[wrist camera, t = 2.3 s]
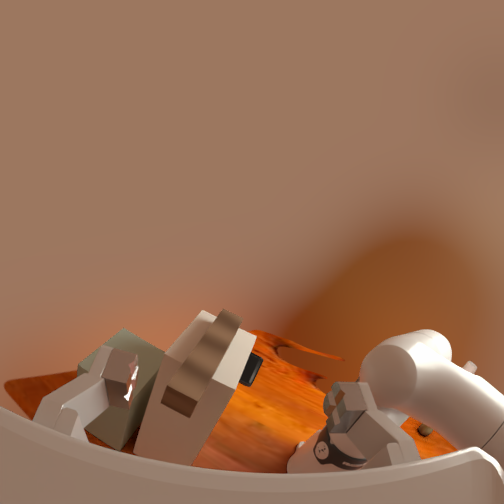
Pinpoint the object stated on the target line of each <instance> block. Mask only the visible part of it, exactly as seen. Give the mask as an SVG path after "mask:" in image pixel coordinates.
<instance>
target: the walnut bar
mask: <svg viewBox="0 0 504 504" xmlns="http://www.w3.org/2000/svg"><path fill="white" fill-rule="evenodd" d="M242 320H243V318H241V317H239V316H237V315H235V314H233V313H231V312H229V311H227V310H225V309H223V310H222V311H221V312H220V314H219V315H218V316H217V318H216V319H215V320H214V322H213V323H212V325H211V326H210V327H209V329H208V330H207V331H206V333H205V334H204V335H203V337H202V338H201V340H200V341H199V342H198V344H197V345H196V346H195V348H194V349H193V350H192V352H191V353H190V355H189V356H188V357H187V359H186V360H185V361H184V363H183V364H182V365H181V367H180V368H179V369H178V371H177V372H176V373H175V375H174V376H173V378H172V379H171V380H170V382H169V383H168V384H167V386H166V389H165V392H164V394H163V397H162V400H161V404H163V405H165V406H167V407H169V408H171V409H172V410H174V411H176V412H178V413H180V414H182V415H184V416H186V417H188V418H190V417H191V415H192V414H193V412H194V410H195V408H196V406H197V405H198V403H199V401H200V399H201V397H202V396H203V394H204V392H205V390H206V388H207V386H208V385H209V383H210V381H211V379H212V377H213V376H214V374H215V372H216V370H217V368H218V366H219V364H220V363H221V361H222V359H223V357H224V355H225V353H226V352H227V350H228V348H229V346H230V344H231V342H232V340H233V338H234V337H235V335H236V333H237V331H238V329H239V327H240V324H241V322H242Z"/></svg>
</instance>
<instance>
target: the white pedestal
mask: <svg viewBox="0 0 504 504" xmlns="http://www.w3.org/2000/svg"><path fill="white" fill-rule="evenodd" d="M216 318H217V317H216V316H213V315H212V314H210V313H208V312H206V311H204V310H202V311H201V312H200V314H199V315H198V316H197V317H196V318H195V319H194V320H193V322H192V323H191V324H190V325H189V326H188V327H187V328H186V330H185V331H184V332H183V333H182V334H181V335H180V336H179V338H178V339H177V340H176V341H175V342H174V343H173V344H172V346H171V347H170V348H169V349H168V350H167V351H166V352H165V353H164V356H163V359H162V362H161V365H160V368H159V371H158V374H157V377H156V380H155V383H154V386H153V389H152V392H151V395H150V398H149V401H148V405H147V408H146V411H145V414H144V417H143V420H142V424H141V427H140V430H139V433H138V437H137V440H136V443H135V447H134V450H133V453H134V454H136V455H138V456H140V457H144V458H148V459H153V460H158V461H163V462H168V463H174V464H180V465H186V466H191V465H192V463H193V461H194V460H195V458H196V456H197V455H198V453H199V451H200V450H201V448H202V446H203V445H204V443H205V441H206V440H207V438H208V436H209V435H210V433H211V431H212V430H213V428H214V426H215V425H216V423H217V421H218V419H219V418H220V416H221V414H222V412H223V411H224V409H225V407H226V406H227V404H228V402H229V400H230V398H231V397H232V395H233V393H234V391H235V390H236V387H237V385H238V382H239V380H240V377H241V375H242V372H243V370H244V368H245V365H246V363H247V360H248V358H249V355H250V353H251V350H252V348H253V345H254V342H255V340H256V337H257V336H255V335H253V334H250V333H248V332H246V331H244V330H242V329H240V328H239V329H238V331H237V333H236V335H235V337H234V338H233V340H232V342H231V344H230V346H229V348H228V350H227V352H226V353H225V355H224V357H223V359H222V361H221V363H220V364H219V366H218V368H217V370H216V372H215V374H214V376H213V377H212V379H211V381H210V383H209V385H208V386H207V388H206V390H205V392H204V394H203V396H202V397H201V399H200V401H199V403H198V405H197V406H196V408H195V410H194V412H193V414H192V415H191V417H190V418H188V417H186V416H184V415H182V414H180V413H178V412H176V411H174V410H172V409H171V408H169V407H167V406H165V405H163V404H161V400H162V397H163V394H164V392H165V389H166V386H167V384H168V383H169V382H170V380H171V379H172V378H173V376H174V375H175V373H176V372H177V371H178V369H179V368H180V367H181V365H182V364H183V363H184V361H185V360H186V359H187V357H188V356H189V355H190V353H191V352H192V350H193V349H194V348H195V346H196V345H197V344H198V342H199V341H200V340H201V338H202V337H203V335H204V334H205V333H206V331H207V330H208V329H209V327H210V326H211V325H212V323H213V322H214V320H215V319H216Z"/></svg>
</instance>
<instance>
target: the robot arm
mask: <svg viewBox="0 0 504 504" xmlns="http://www.w3.org/2000/svg"><path fill="white" fill-rule="evenodd" d="M451 356H452V351H451V346H450V344H449V342H448V340H447V339H446V338H445V337H444V336H443V335H441V334H440V333H438V332H435V331H433V330H420V331H415V332H410V333H407V334H404V335H399V336H395V337H391V338H389V339H387V340H385V341H383V342H382V343H380V344H379V345H378V346H376V347H375V348H374V349H373V350H372V351H370V352H369V353H368V354H367V356H366V357H365V359H364V360H363V363H362V365H361V368H360V382H335V383H334V384H333V385H332V387H331V388H332V391H330V392H329V393H327V395H326V396H325V398H324V403H323V409H324V413H325V414H326V415H327V416H328V419H327V421H326V423H327V425H326V426H325V427H324V428H323V430H318V431H317V432H316V433H315V434H314V435H312V436H311V437H310V438H309V439H308V440H307V441H306V442H300V443H299V444H298V445H297V447H296V452H295V453H294V454H293V455H292V456H291V457H290V459H289V461H288V464H287V473H288V474H277V473H251V472H237V471H225V470H216V469H207V468H199V467H192V466H186V465H180V464H174V463H168V462H163V461H158V460H153V459H148V458H144V457H139V456H135V455H131V454H127V453H123V452H119V451H116V450H112V449H109V448H105V447H102V446H98V445H95V444H92V443H89V441H88V439H87V436H86V434H85V431H84V427H85V426H87V425H88V424H89V423H90V422H91V421H93V420H94V419H95V418H96V417H97V416H99V415H100V414H101V413H102V412H103V411H105V410H106V409H107V408H108V407H109V405H110V406H114V407H118V408H123V409H127V410H129V409H130V406H131V402H132V399H133V390H134V389H135V388H136V385H137V380H138V372H139V369H138V366H137V363H138V354H135V353H131V352H127V351H124V350H120V349H116V348H112V347H109V346H105V345H102V346H101V347H100V348H99V350H98V353H97V355H96V357H95V359H94V361H93V364H92V366H91V368H90V370H89V373H84V374H82V375H80V376H79V377H77V378H75V379H74V380H72V381H70V382H68V383H67V384H65V385H63V386H62V387H60V388H58V389H57V390H55V391H53V392H52V393H50V394H48V395H46V396H45V397H43V399H42V401H41V403H40V405H39V407H38V409H37V411H36V414H35V416H34V418H33V420H32V421H31V420H28V419H26V418H24V417H22V416H20V415H18V414H15V413H13V412H11V411H9V410H7V409H5V408H3V407H1V406H0V504H504V396H503V395H502V394H501V393H500V392H499V391H497V390H496V389H495V388H494V387H493V386H491V385H490V384H489V383H488V382H486V380H484V379H483V378H482V377H479V376H477V375H474V374H472V373H470V372H468V371H466V370H464V369H462V368H460V367H458V366H456V365H455V364H453V363H451ZM409 417H412V418H414V419H416V420H417V421H419V422H421V423H423V424H425V425H427V426H428V427H430V428H432V429H433V430H435V431H436V432H438V433H439V434H440V435H442V436H443V437H444V438H445V439H446V440H447V441H448V442H450V443H451V444H452V445H453V446H454V447H455V448H456V449H458V450H459V451H456V452H452V453H448V454H444V455H440V456H436V457H432V458H428V459H423V460H421V459H420V456H419V453H418V450H417V448H416V445H415V442H414V439H412V438H411V437H410V436H409V435H408V434H407V433H406V432H404V431H403V430H402V429H401V428H400V426H401V425H402V424H403V423H404V422H405V421H406V420H407V419H408V418H409Z"/></svg>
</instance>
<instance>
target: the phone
mask: <svg viewBox="0 0 504 504" xmlns="http://www.w3.org/2000/svg"><path fill="white" fill-rule="evenodd" d="M262 362H263V359H262V358H261V357H259V356H257V355H255V354H254V353H252V352H251V353H250V355H249V358H248V360H247V363H246V365H245V368H244V370H243V372H242V375H241V377H240V380H239V383H241V384H243V385H245V386H248V387H250V386H251V385H252V383H253V381H254V379H255V377H256V375H257V373H258V371H259V368H260V366H261V364H262Z"/></svg>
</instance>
